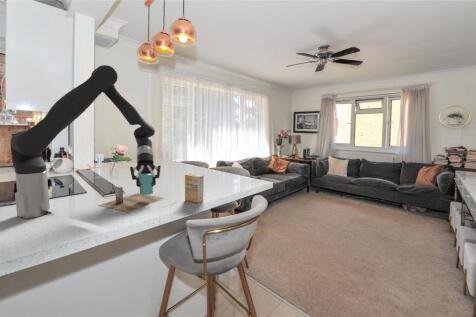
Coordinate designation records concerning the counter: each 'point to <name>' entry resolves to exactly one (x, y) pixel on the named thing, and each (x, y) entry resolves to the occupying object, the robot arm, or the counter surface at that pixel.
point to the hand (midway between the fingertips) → (146, 185)
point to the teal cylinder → (146, 183)
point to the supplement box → (194, 187)
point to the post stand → (129, 201)
